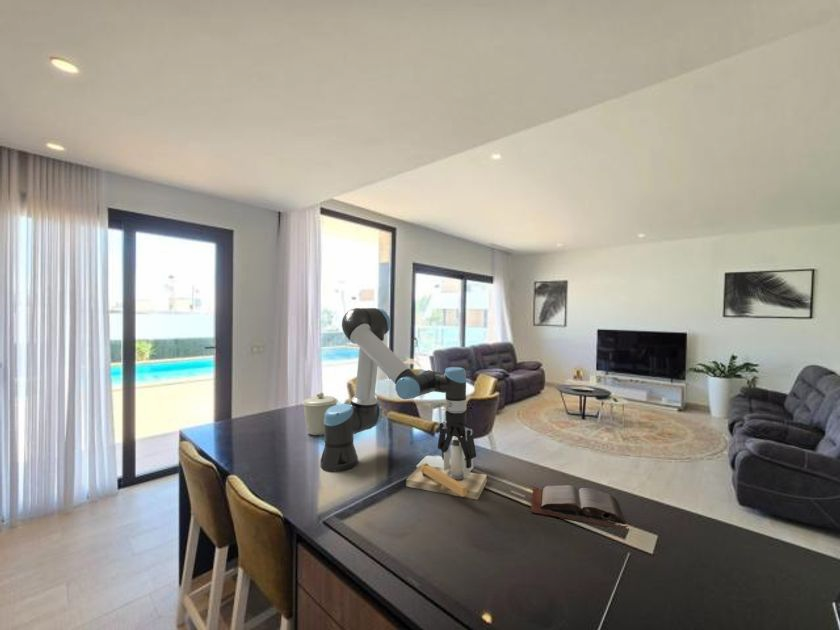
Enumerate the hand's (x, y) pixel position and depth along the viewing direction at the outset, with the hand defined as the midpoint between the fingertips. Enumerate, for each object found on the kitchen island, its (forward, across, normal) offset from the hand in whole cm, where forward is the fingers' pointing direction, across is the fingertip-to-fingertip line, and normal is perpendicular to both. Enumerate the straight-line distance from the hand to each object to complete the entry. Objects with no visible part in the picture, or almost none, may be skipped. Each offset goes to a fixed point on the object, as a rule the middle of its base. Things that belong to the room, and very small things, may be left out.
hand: (456, 472), depth 134 cm
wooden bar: (0, +1, -9) cm, 9 cm away
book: (+5, +38, +13) cm, 41 cm away
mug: (+4, -6, +11) cm, 13 cm away
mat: (+4, -17, +8) cm, 19 cm away
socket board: (+4, -2, -3) cm, 5 cm away
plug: (+4, 0, 0) cm, 4 cm away
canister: (+4, -88, -1) cm, 88 cm away
